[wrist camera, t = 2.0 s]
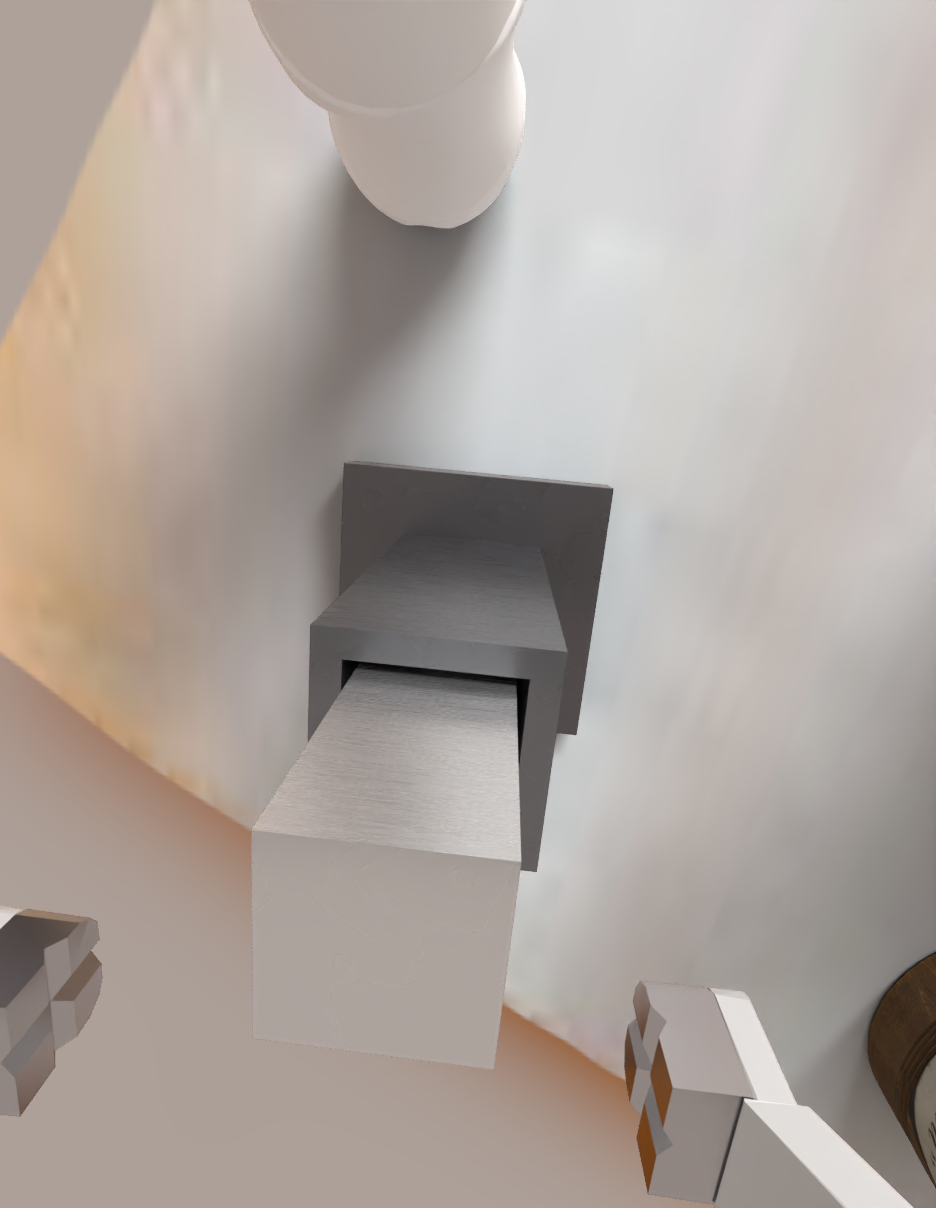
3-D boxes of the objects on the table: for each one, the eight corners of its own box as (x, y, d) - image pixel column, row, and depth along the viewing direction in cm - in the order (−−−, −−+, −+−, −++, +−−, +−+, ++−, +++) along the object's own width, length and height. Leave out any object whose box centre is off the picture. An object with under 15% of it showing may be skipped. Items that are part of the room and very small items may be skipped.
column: (513, 569, 28) (523, 861, 9) (504, 652, 29) (494, 1070, 10) (425, 560, 28) (249, 828, 9) (419, 643, 30) (251, 1039, 10)
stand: (606, 485, 29) (723, 548, 13) (572, 717, 33) (633, 991, 17) (354, 461, 30) (175, 494, 14) (345, 692, 33) (192, 937, 17)
